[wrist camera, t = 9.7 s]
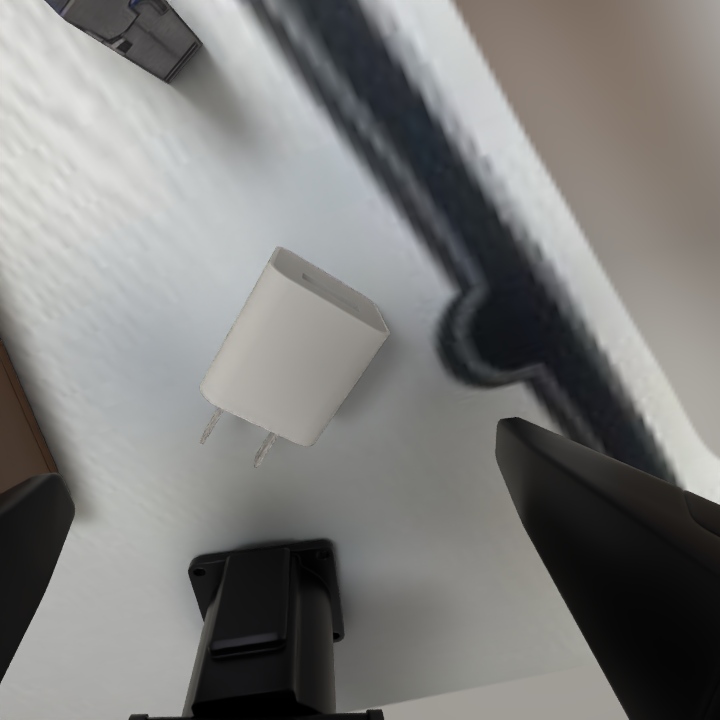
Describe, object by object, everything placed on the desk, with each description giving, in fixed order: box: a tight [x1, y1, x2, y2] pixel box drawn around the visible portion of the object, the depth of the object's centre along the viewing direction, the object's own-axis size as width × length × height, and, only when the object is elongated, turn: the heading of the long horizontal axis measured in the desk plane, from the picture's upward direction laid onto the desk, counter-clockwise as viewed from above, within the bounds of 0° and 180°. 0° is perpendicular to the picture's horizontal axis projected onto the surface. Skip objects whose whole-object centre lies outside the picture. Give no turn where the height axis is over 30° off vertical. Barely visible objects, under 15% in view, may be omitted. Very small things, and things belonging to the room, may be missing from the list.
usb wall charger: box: [200, 247, 390, 468], centre depth 15 cm, size 4×7×4 cm, turn 147°
